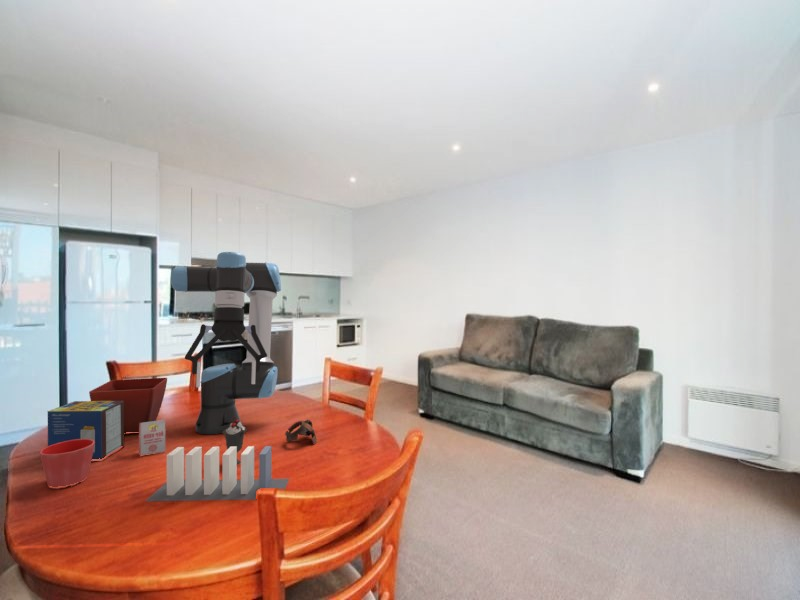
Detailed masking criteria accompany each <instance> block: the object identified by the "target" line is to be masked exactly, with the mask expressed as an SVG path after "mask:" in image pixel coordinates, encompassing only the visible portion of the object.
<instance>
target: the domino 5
mask: <svg viewBox="0 0 800 600" xmlns="http://www.w3.org/2000/svg"><path fill="white" fill-rule="evenodd" d="M240 461H241V463H240V479H241V494H248V492H249V491H250V489H251V488H252V486H253V485H254V479H255V446H254V445H252V446H251V445H248V446H247V447H246V448H245V449H244V450H243V452H241V454H240Z"/></svg>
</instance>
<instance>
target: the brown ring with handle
mask: <svg viewBox="0 0 800 600" xmlns="http://www.w3.org/2000/svg"><path fill="white" fill-rule="evenodd" d="M296 428H297V429H296ZM294 430H295V431H294ZM284 434H285V438H286V440H285V441H286V442H288V443H290V442H293V441H296V442H298V441H299V440H298V439H299V438H298V437H299V436H306V437H309V436H311V442H312V444H315V445H316V443H317V441H318V439H317V436H316V433H315V429H314V428H313V422H312V421H311V420H310V419H306V420H299V421H297V422H294V423H293V424H292V425H291V426H289V427H288V429H287V430H286V431H285V432H284Z"/></svg>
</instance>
